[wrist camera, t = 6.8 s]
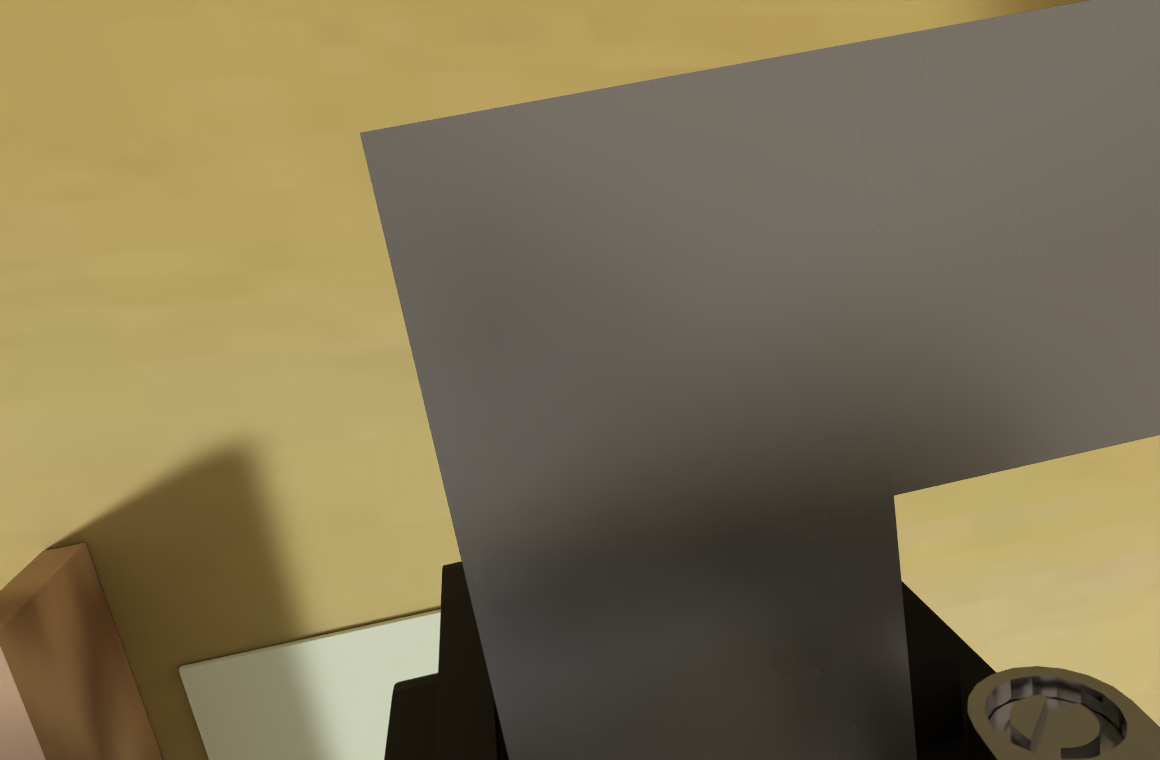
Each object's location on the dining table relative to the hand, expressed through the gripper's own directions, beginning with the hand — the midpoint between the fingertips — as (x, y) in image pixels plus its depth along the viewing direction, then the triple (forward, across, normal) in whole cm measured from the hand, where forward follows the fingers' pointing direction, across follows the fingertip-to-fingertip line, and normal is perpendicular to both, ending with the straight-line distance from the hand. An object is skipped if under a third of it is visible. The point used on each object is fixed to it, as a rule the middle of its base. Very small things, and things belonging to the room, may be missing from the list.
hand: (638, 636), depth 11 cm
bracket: (+1, -3, -1) cm, 3 cm away
